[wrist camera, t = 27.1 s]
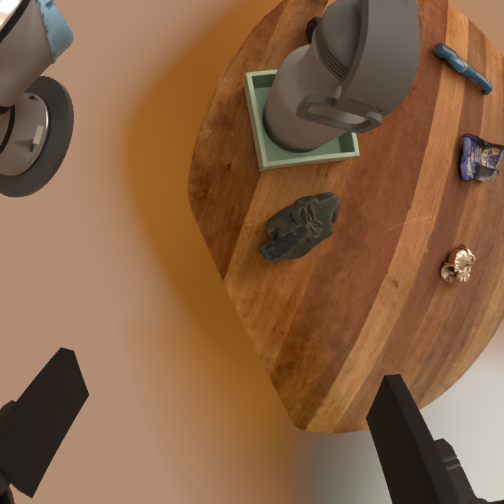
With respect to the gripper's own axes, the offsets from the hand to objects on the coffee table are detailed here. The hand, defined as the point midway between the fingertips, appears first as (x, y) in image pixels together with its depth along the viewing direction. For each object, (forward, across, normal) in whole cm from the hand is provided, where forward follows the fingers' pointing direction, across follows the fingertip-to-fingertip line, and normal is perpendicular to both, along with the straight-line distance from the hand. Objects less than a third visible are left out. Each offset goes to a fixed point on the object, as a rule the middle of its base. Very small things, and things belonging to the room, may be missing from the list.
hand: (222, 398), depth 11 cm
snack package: (+38, -41, -14) cm, 57 cm away
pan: (+34, -6, -14) cm, 38 cm away
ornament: (+34, -37, +5) cm, 51 cm away
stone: (+33, -7, 0) cm, 33 cm away
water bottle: (+34, -6, -14) cm, 37 cm away
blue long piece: (+40, -39, -33) cm, 65 cm away
